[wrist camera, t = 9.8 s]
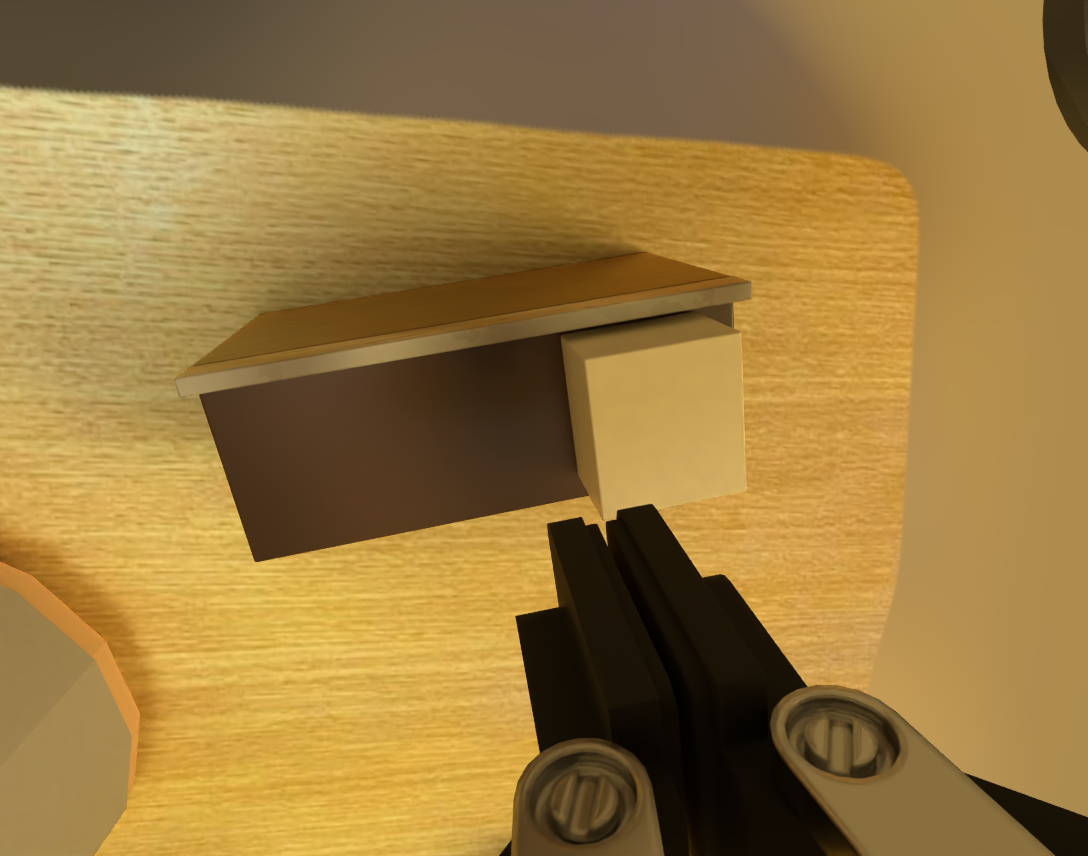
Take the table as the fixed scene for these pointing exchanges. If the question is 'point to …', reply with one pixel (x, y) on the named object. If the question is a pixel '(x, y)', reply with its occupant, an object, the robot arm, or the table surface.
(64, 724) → the desk lamp
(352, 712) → the table surface
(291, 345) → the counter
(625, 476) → the tan block
